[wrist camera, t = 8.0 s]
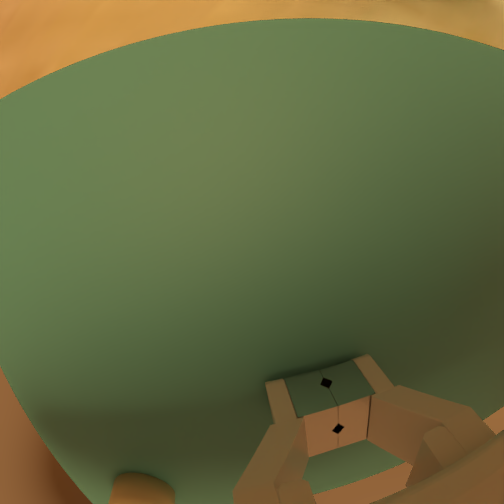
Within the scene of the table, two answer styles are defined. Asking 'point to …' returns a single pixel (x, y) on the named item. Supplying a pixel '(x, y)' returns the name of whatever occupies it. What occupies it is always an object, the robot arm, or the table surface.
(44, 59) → the table surface
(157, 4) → the table surface
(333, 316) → the lid
